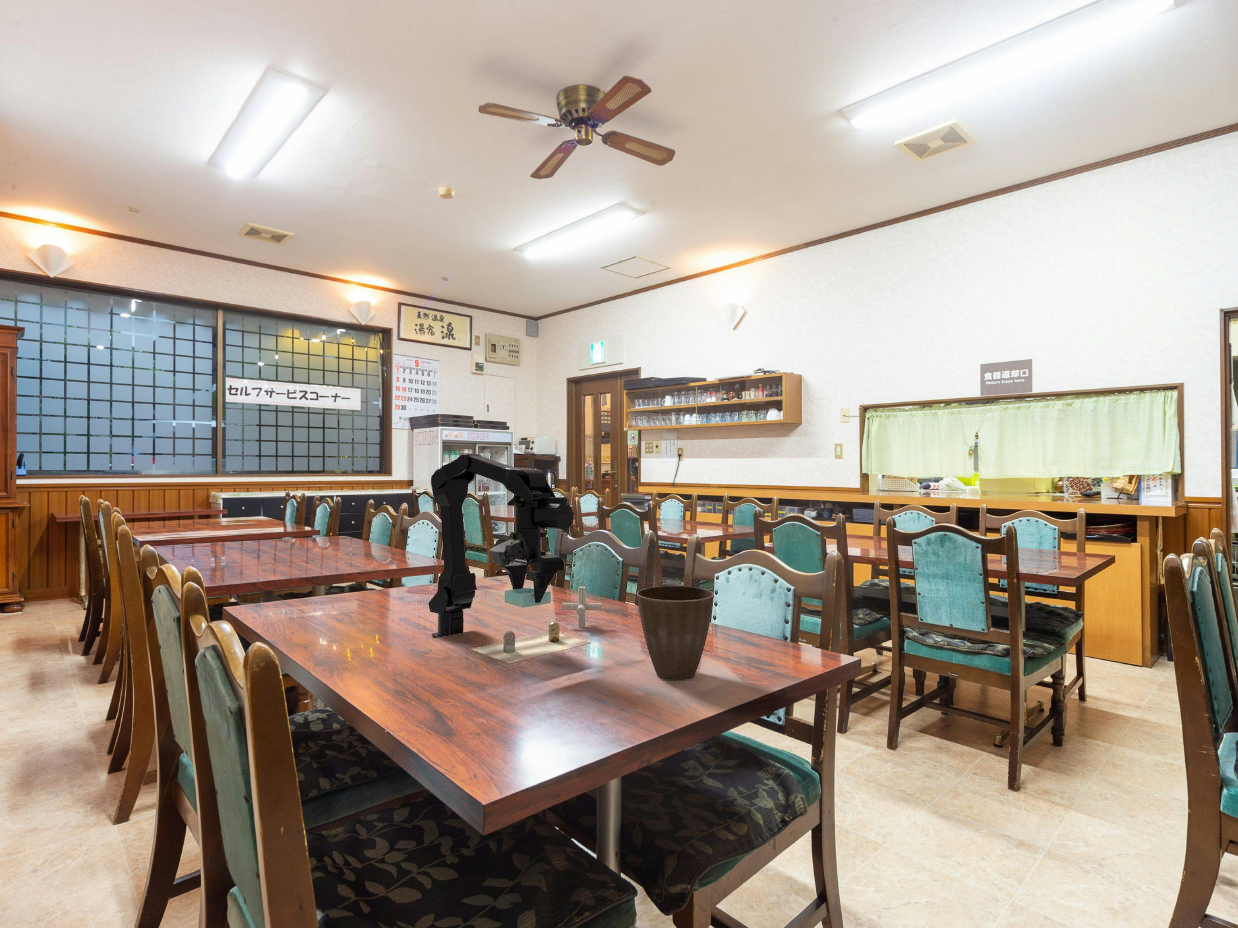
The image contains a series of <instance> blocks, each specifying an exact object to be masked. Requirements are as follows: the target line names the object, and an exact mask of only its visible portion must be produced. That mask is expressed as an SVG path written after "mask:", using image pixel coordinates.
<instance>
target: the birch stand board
mask: <svg viewBox="0 0 1238 928" xmlns="http://www.w3.org/2000/svg"><path fill="white" fill-rule="evenodd" d="M589 644H592V642H590V641H588V640H587V641H586V640H583V639H580V638H576V637H573V636H570V635H566V634H563V633H560V632H559V641H558V642H549V631H547V632H541V633H537V634H532V635H528V636H523V637H519V638H516V634H515V632H513V631H512V630H508V631H506V632H504V634H503V641H500V642H495V643H491V644H486V645H482V646H477V647H473V648H471V650H472V651H475V652H478V653H480V654H482V655H485V656H488V657H490V658H493V659H495V660H498V661H501V662H503V663H506V664H512V663H517V662H521V661H524V660H529V659H533V658H536V657H537V658H538V657H540V656H541V657H542V656H545V655H550V654H553V653H557V652H561V651H567V650H569V649H574V648H578V647H581V646H586V645H589Z"/></svg>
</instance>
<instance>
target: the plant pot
mask: <svg viewBox="0 0 1238 928" xmlns="http://www.w3.org/2000/svg"><path fill="white" fill-rule="evenodd" d="M636 598H637V604H638V610H639V611H638V613H639V618H640V622H641V628H642V631H643V636H644V639H645V644H646V647H647V651H648V655H649V657H650V660H651V664H652V666H653V669H654V671H655V674H656V676H657V677H658V678H660V679H662V680H666V681H672V682H681V681H682V682H683V681H687V680H691V679H692V678H694V677H695V675H696V673H697V671H698V667H699V665H700V662H701V660H702V659H701V658H702V656H703V653H704V649H705V645H706V641H707V638H708V634H709V629H710V625H711V624H710V623H711V618H712V612H713V605H714V598H715V593H714V592H713V591H712V590H709V589H705V588H701V587H695V586H684V585H663V586H662V585H661V586H651V587H647V588H642V589H640V590H638V591H637V592H636Z"/></svg>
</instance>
